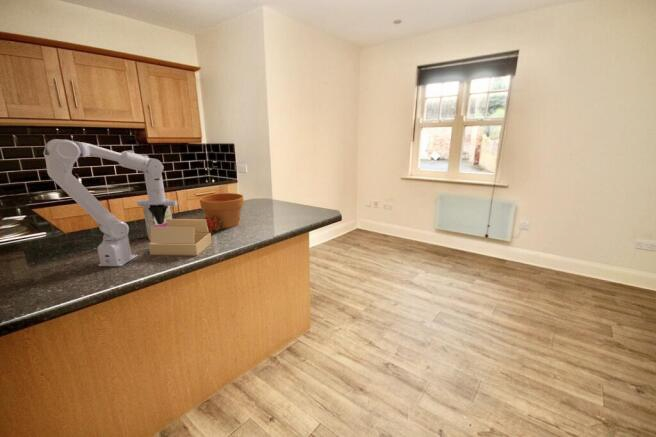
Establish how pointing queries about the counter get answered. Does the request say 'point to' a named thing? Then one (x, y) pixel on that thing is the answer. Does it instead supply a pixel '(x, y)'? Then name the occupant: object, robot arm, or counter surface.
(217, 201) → the flower pot
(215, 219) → the dragon fruit
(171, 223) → the far flap
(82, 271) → the counter surface
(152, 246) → the carton
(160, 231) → the near flap
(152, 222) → the candy bar box
